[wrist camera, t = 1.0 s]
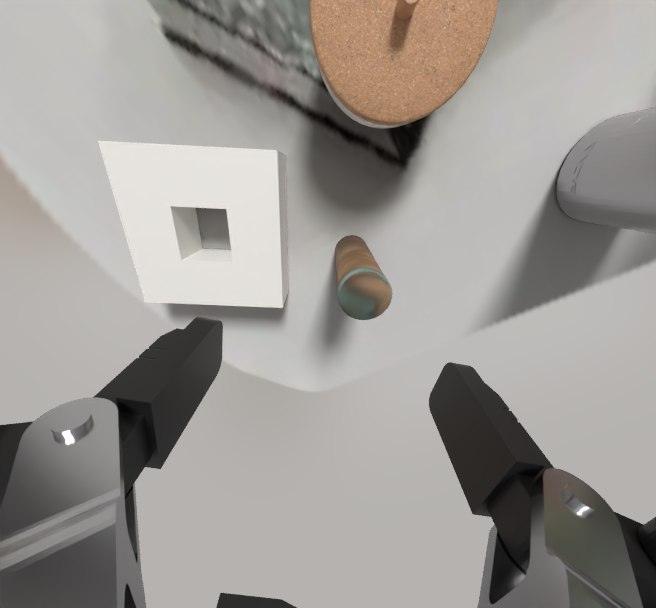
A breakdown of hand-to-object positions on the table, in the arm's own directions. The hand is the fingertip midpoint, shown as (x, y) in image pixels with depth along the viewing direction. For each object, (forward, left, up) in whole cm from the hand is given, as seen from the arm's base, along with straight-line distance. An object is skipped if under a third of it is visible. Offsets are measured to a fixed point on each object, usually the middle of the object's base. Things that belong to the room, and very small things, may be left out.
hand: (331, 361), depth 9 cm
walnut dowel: (-2, +1, -21) cm, 21 cm away
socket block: (+12, -1, -21) cm, 24 cm away
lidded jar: (-3, -15, -21) cm, 26 cm away
